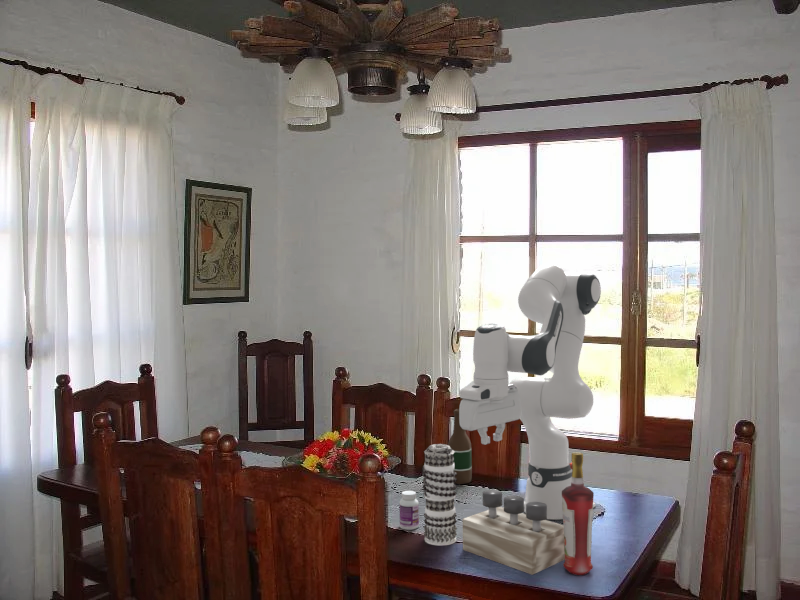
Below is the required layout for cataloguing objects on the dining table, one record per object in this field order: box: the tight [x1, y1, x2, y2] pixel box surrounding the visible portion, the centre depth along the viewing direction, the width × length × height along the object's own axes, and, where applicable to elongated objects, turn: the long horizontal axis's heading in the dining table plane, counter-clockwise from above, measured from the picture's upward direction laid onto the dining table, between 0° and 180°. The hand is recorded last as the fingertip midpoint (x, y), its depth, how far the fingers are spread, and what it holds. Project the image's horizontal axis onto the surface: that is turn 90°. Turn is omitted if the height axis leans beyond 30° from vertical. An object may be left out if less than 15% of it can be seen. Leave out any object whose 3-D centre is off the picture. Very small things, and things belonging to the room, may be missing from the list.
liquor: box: [562, 451, 595, 576], centre depth 181 cm, size 7×7×28 cm
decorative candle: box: [421, 443, 458, 547], centre depth 203 cm, size 9×9×25 cm
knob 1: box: [482, 489, 503, 519], centre depth 197 cm, size 5×5×8 cm
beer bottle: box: [447, 408, 473, 485], centre depth 256 cm, size 8×8×24 cm
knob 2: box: [503, 495, 525, 525], centre depth 192 cm, size 5×5×8 cm
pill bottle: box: [398, 490, 420, 531], centre depth 213 cm, size 5×5×10 cm
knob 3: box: [525, 502, 548, 532], centre depth 187 cm, size 5×5×8 cm
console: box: [461, 506, 565, 576], centre depth 192 cm, size 14×22×8 cm, turn 42°
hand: (491, 442), depth 196 cm, fingers open, 3 cm apart
